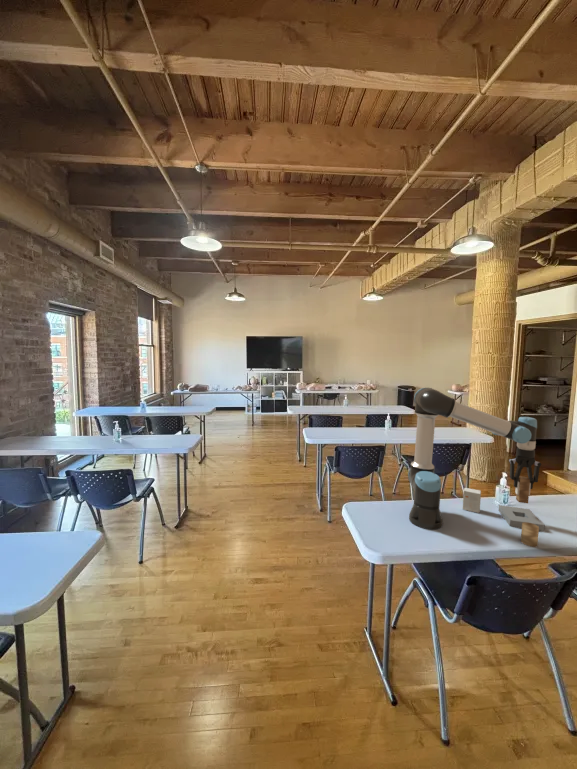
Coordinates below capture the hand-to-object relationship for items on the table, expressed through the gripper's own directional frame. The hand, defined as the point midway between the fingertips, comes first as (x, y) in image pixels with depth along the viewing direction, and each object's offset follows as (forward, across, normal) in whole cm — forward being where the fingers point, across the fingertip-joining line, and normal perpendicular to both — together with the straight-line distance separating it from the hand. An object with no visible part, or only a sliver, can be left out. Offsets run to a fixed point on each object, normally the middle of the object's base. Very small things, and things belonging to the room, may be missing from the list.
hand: (522, 494), depth 169 cm
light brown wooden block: (+13, -4, -24) cm, 28 cm away
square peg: (+4, 0, 0) cm, 4 cm away
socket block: (+14, 0, 0) cm, 14 cm away
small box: (+14, -21, +5) cm, 26 cm away
